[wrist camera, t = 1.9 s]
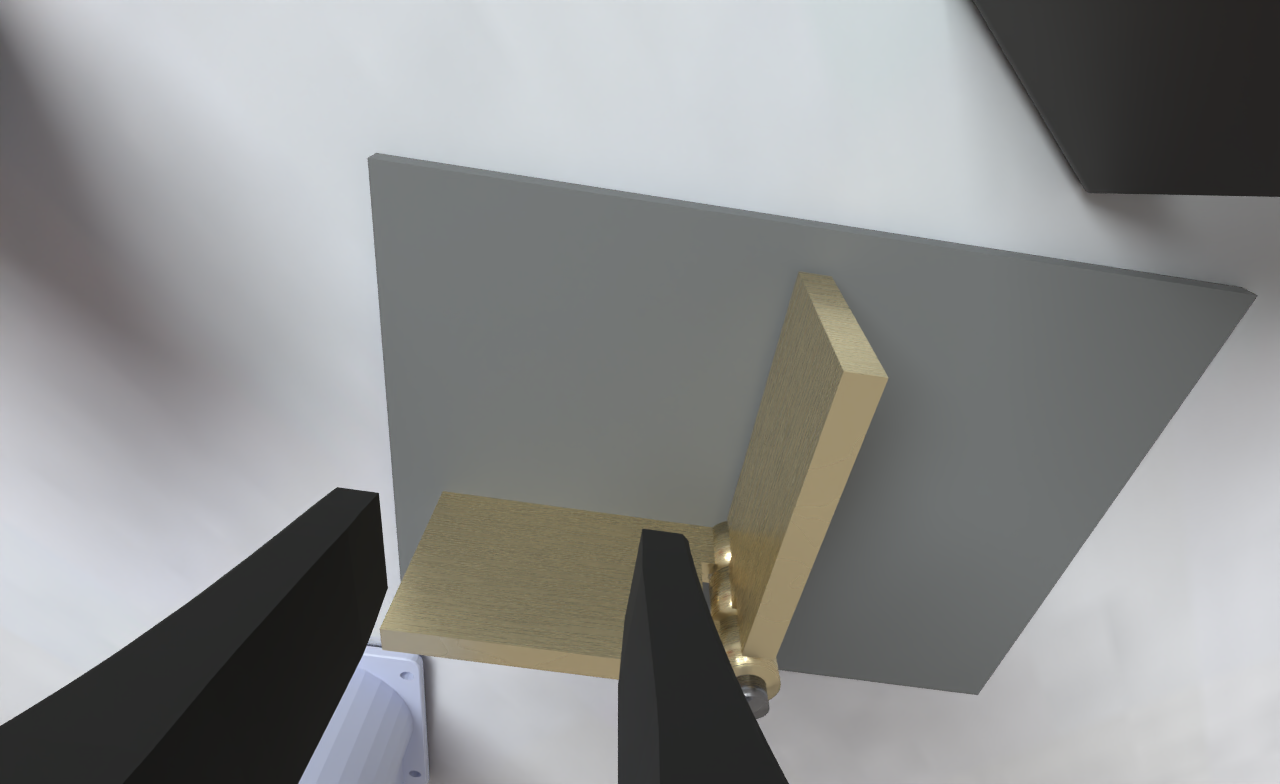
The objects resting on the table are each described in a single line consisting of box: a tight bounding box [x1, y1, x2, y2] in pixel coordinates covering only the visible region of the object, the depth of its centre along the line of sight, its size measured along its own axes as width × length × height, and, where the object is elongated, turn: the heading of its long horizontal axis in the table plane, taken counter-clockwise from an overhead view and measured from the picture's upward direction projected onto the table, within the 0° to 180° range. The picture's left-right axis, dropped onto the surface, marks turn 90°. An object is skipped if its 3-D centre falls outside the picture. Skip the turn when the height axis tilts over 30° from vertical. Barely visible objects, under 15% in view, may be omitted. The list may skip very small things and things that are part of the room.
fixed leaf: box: [380, 491, 781, 719], centre depth 18 cm, size 10×2×6 cm, turn 82°
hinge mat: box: [368, 153, 1257, 695], centre depth 19 cm, size 16×21×1 cm
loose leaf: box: [709, 271, 888, 660], centre depth 16 cm, size 10×2×5 cm, turn 172°
